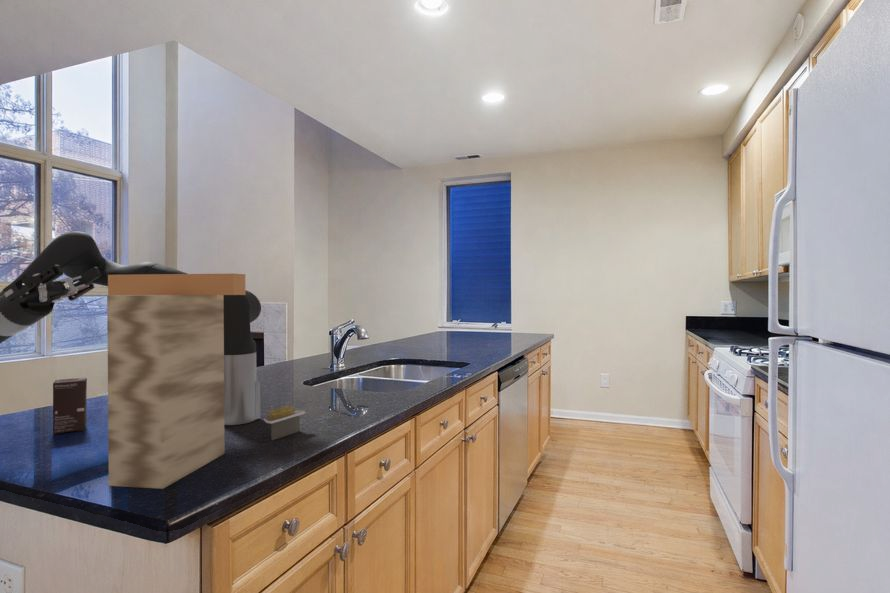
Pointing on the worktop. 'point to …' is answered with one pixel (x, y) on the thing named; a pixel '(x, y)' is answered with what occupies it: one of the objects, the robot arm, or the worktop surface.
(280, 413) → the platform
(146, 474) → the tall wooden block
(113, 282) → the rail
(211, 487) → the worktop surface
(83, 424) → the box
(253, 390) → the robot arm
